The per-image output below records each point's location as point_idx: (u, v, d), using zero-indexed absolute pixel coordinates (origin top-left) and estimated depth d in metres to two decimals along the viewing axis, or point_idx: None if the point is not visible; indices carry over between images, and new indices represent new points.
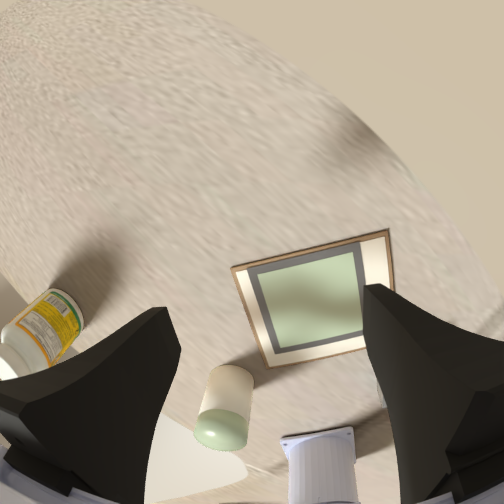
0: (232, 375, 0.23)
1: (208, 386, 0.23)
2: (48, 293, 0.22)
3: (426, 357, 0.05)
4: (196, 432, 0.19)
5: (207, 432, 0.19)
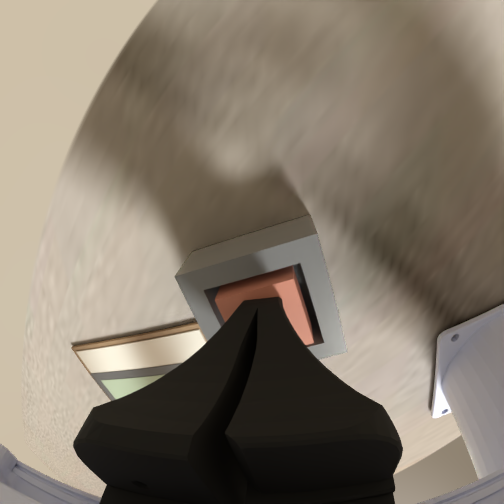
0: None
1: None
2: None
3: (248, 383, 0.05)
4: None
5: None
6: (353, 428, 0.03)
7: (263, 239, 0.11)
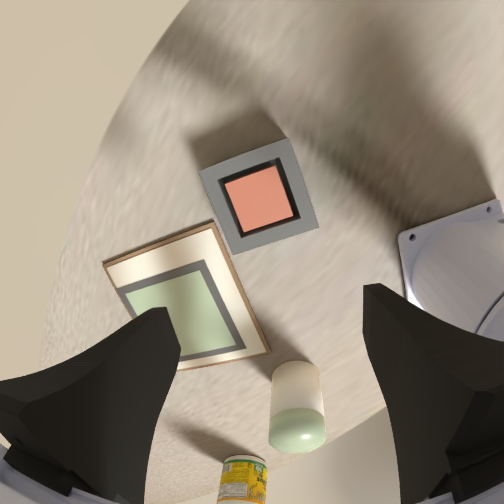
0: None
1: None
2: None
3: (426, 357, 0.05)
4: (289, 451, 0.18)
5: (286, 446, 0.18)
6: None
7: None
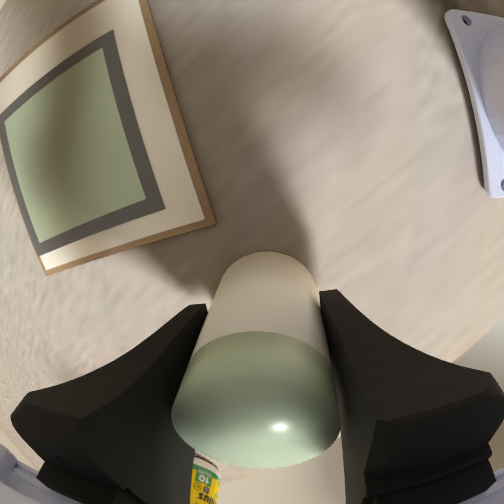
0: None
1: None
2: None
3: (352, 372, 0.05)
4: (235, 462, 0.07)
5: (225, 447, 0.06)
6: (483, 392, 0.03)
7: None
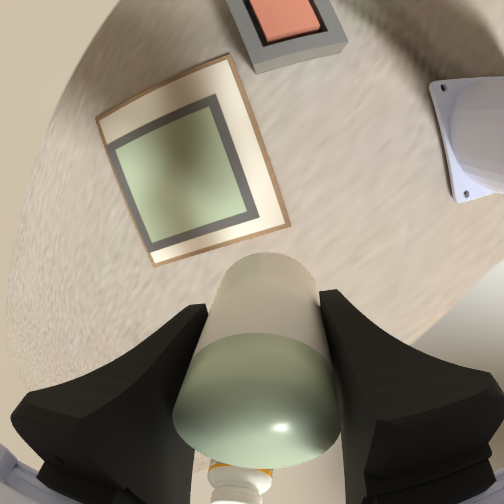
0: None
1: None
2: None
3: (352, 372, 0.05)
4: (236, 463, 0.07)
5: (226, 448, 0.07)
6: (483, 392, 0.03)
7: None
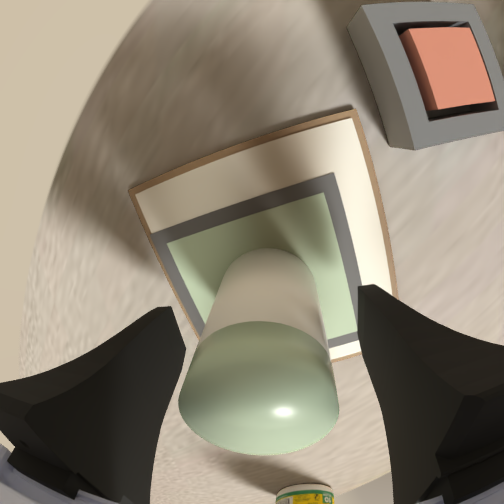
0: None
1: None
2: None
3: (417, 359, 0.05)
4: (239, 449, 0.07)
5: (229, 434, 0.07)
6: None
7: None
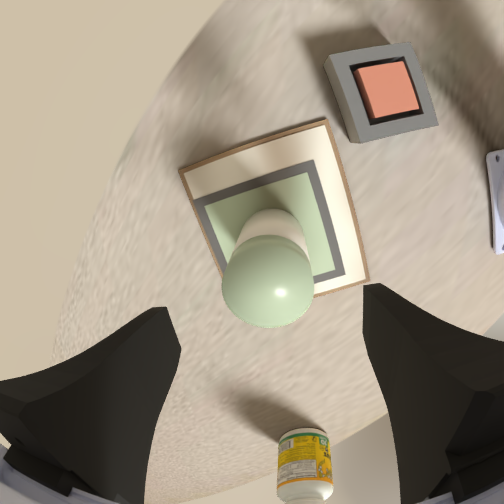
0: None
1: None
2: (278, 449, 0.26)
3: (426, 357, 0.05)
4: (255, 322, 0.14)
5: (250, 306, 0.13)
6: None
7: None
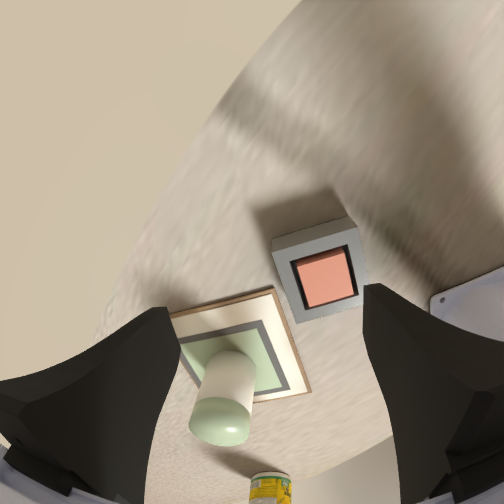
0: None
1: None
2: None
3: (426, 357, 0.05)
4: (213, 443, 0.18)
5: (208, 436, 0.18)
6: None
7: (323, 230, 0.17)
